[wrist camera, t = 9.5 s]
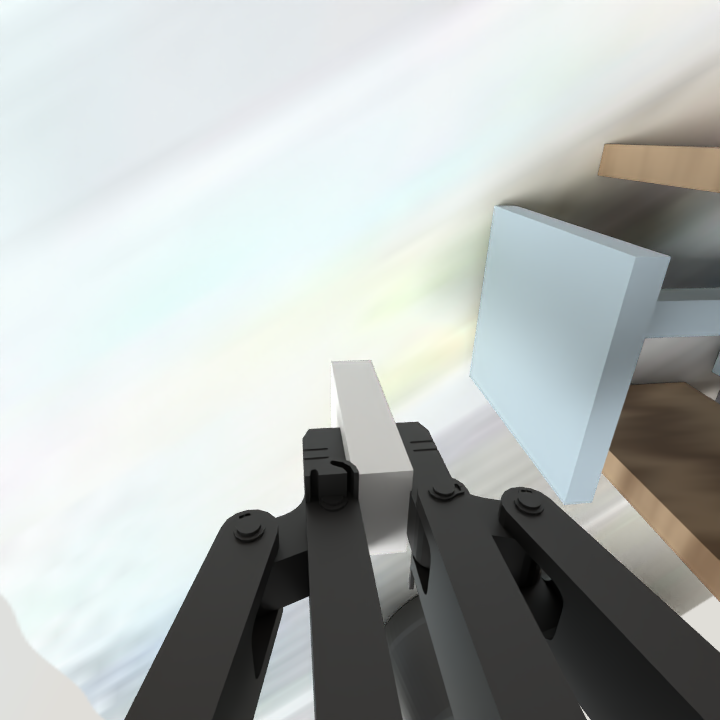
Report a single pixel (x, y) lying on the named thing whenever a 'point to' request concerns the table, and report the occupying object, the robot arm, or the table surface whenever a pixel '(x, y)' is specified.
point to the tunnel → (670, 404)
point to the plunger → (572, 337)
